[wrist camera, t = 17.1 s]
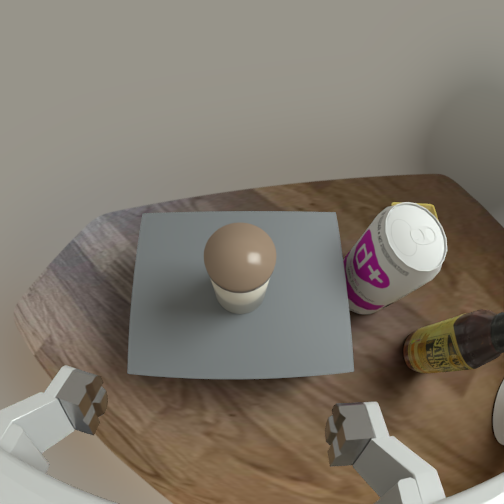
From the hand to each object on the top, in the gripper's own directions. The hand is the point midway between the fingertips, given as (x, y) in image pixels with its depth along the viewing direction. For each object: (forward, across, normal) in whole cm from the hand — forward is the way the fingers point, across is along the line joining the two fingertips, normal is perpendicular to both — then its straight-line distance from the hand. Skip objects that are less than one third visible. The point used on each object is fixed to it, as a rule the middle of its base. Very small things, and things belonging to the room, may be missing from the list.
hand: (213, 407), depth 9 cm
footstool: (+24, 0, +12) cm, 27 cm away
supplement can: (+28, -16, +9) cm, 33 cm away
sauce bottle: (+21, -24, +15) cm, 36 cm away
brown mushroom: (+17, 0, +5) cm, 18 cm away
